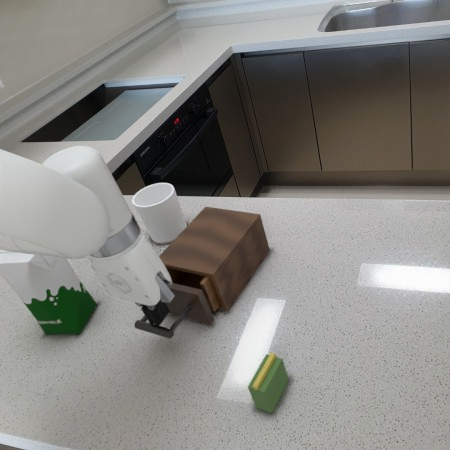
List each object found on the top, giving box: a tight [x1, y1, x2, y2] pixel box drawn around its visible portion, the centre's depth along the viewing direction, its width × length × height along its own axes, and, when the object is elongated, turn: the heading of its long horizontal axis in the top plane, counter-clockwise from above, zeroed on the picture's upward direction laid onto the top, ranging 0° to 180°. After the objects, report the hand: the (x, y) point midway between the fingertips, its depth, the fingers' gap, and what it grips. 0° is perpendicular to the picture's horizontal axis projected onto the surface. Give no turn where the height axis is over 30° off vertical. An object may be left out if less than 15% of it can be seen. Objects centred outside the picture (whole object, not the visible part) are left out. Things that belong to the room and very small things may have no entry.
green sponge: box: [247, 352, 290, 414], centre depth 64 cm, size 3×6×6 cm, turn 156°
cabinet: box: [158, 206, 271, 312], centre depth 86 cm, size 17×13×9 cm
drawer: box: [134, 268, 221, 339], centre depth 80 cm, size 22×11×7 cm, turn 156°
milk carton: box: [0, 249, 98, 336], centre depth 79 cm, size 9×9×20 cm
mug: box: [131, 182, 188, 245], centre depth 100 cm, size 11×9×10 cm
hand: (160, 317), depth 74 cm, fingers closed
